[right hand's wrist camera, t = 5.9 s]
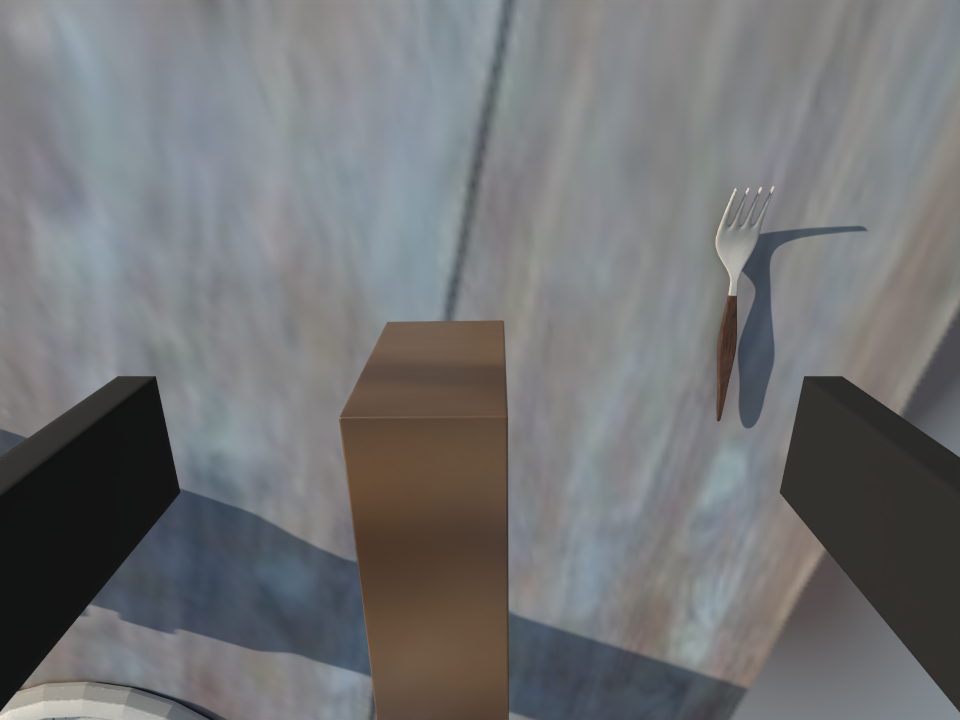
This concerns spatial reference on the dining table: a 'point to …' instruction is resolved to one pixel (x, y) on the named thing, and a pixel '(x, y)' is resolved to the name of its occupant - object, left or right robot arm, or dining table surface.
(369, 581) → the bar
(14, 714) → the wall clock
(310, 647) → the dining table surface
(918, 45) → the dining table surface
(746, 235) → the fork
